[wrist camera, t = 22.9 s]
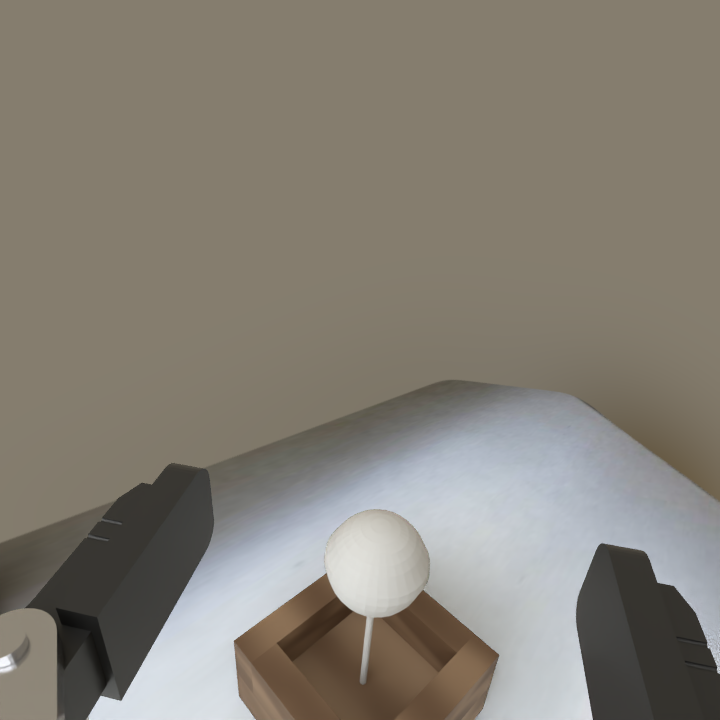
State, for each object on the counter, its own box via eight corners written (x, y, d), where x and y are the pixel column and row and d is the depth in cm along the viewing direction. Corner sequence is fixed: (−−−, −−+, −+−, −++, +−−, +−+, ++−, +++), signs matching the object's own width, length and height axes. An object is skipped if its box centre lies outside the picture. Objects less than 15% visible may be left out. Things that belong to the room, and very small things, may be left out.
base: (362, 595, 46) (367, 543, 43) (482, 708, 39) (499, 655, 36) (239, 696, 38) (234, 640, 35) (358, 862, 31) (365, 811, 28)
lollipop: (302, 699, 36) (305, 541, 28) (342, 627, 40) (353, 475, 33) (388, 746, 34) (415, 588, 26) (419, 664, 38) (449, 510, 31)
